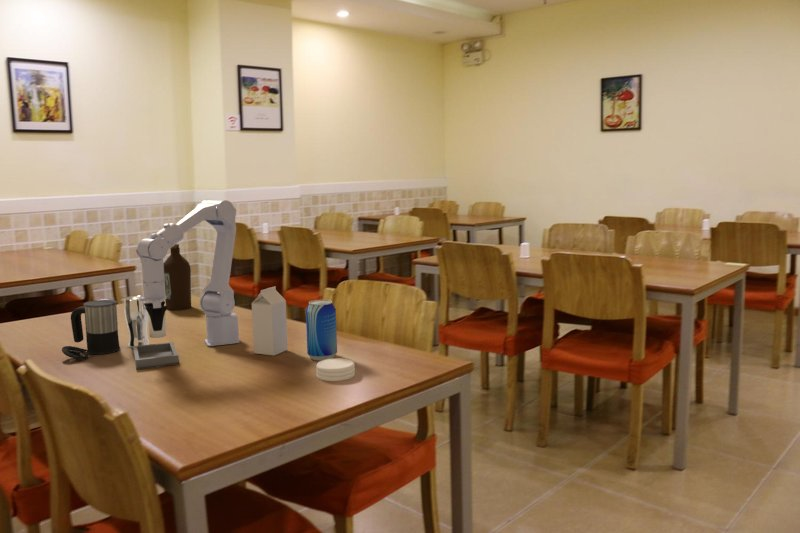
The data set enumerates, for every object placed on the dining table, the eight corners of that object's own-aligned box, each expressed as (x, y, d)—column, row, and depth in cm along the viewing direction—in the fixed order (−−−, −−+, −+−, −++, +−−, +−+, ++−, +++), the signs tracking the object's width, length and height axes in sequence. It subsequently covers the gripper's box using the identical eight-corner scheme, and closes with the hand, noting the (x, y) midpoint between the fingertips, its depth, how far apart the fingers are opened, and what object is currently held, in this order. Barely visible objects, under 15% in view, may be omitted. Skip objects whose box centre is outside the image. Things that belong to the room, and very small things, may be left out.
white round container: (319, 370, 178) (319, 357, 178) (356, 370, 178) (356, 357, 177) (313, 382, 168) (313, 369, 168) (353, 382, 168) (352, 368, 168)
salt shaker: (165, 333, 192) (165, 306, 191) (166, 337, 188) (165, 309, 187) (149, 334, 190) (148, 307, 189) (149, 338, 186) (148, 310, 185)
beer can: (324, 362, 184) (323, 306, 182) (301, 358, 189) (299, 303, 187) (343, 355, 192) (341, 300, 189) (320, 351, 196) (318, 298, 194)
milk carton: (288, 350, 198) (285, 287, 195) (273, 356, 192) (271, 291, 189) (268, 347, 201) (265, 285, 198) (253, 353, 195) (250, 289, 192)
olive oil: (187, 304, 269) (184, 242, 265) (196, 308, 260) (192, 244, 257) (161, 307, 263) (156, 244, 259) (169, 311, 254) (164, 246, 251)
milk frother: (124, 345, 206) (120, 298, 204) (112, 360, 190) (108, 309, 188) (74, 348, 203) (70, 300, 201) (58, 363, 188) (53, 311, 186)
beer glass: (142, 348, 202) (139, 300, 200) (122, 347, 203) (118, 299, 201) (155, 342, 209) (152, 295, 206) (135, 342, 210) (132, 295, 208)
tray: (173, 350, 199) (172, 341, 199) (178, 364, 185) (178, 355, 185) (133, 355, 195) (133, 346, 195) (136, 369, 181) (135, 360, 180)
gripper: (137, 278, 192) (140, 324, 194) (140, 286, 179) (143, 335, 181) (162, 276, 195) (165, 322, 197) (167, 284, 182) (170, 333, 183)
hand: (156, 328), depth 189 cm, fingers closed on salt shaker, 4 cm apart
